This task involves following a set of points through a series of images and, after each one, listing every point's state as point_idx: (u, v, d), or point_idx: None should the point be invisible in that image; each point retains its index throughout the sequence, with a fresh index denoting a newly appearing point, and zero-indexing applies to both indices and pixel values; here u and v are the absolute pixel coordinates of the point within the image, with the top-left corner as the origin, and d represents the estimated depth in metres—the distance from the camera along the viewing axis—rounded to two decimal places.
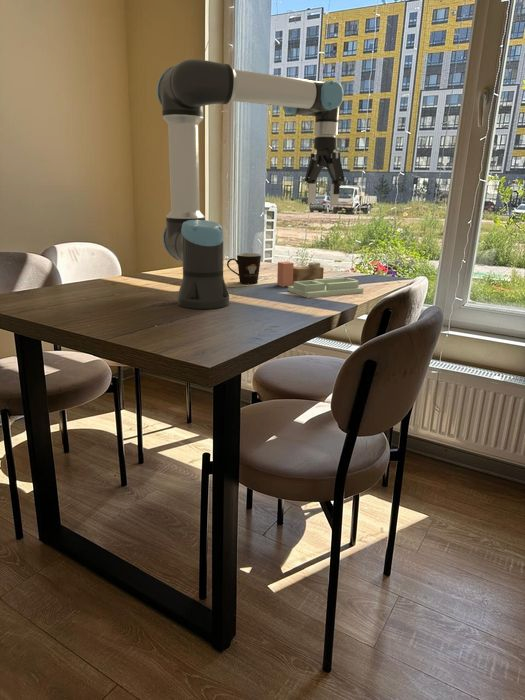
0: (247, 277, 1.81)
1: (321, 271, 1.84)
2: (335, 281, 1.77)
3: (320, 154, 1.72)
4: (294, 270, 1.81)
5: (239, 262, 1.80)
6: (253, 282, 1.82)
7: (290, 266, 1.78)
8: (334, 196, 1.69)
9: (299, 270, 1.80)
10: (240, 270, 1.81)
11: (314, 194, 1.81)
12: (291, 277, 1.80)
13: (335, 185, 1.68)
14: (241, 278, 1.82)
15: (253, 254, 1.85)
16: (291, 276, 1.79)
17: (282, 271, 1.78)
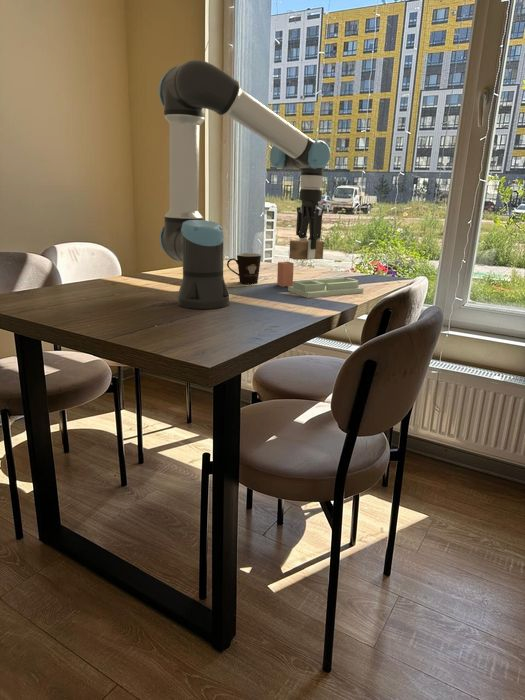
0: (247, 277, 1.81)
1: (321, 245, 1.81)
2: (335, 281, 1.77)
3: (305, 202, 1.78)
4: (293, 243, 1.79)
5: (239, 262, 1.80)
6: (253, 282, 1.82)
7: (290, 266, 1.78)
8: (311, 251, 1.79)
9: (297, 243, 1.77)
10: (240, 270, 1.81)
11: None
12: (291, 277, 1.80)
13: (312, 241, 1.77)
14: (241, 278, 1.82)
15: (253, 254, 1.85)
16: (291, 276, 1.79)
17: (282, 271, 1.78)
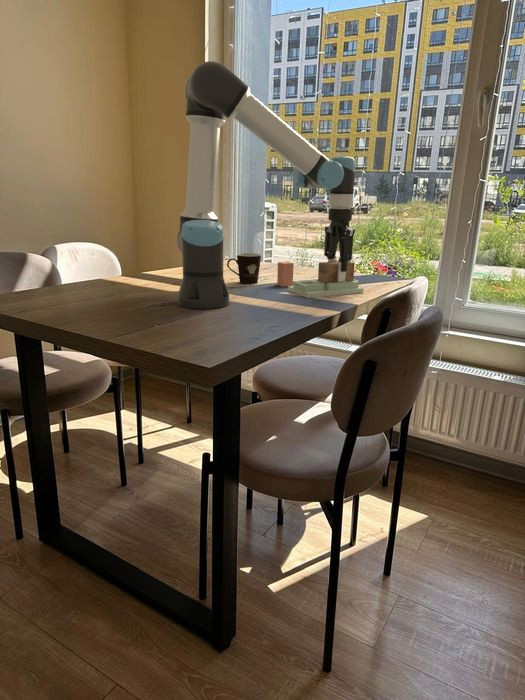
0: (247, 277, 1.81)
1: (352, 267, 1.71)
2: None
3: (334, 222, 1.68)
4: (322, 265, 1.69)
5: (239, 262, 1.80)
6: (253, 282, 1.82)
7: (290, 266, 1.78)
8: (341, 273, 1.69)
9: (327, 265, 1.67)
10: (240, 270, 1.81)
11: None
12: (291, 277, 1.80)
13: (342, 263, 1.67)
14: (241, 278, 1.82)
15: (253, 254, 1.85)
16: (291, 276, 1.79)
17: (282, 271, 1.78)
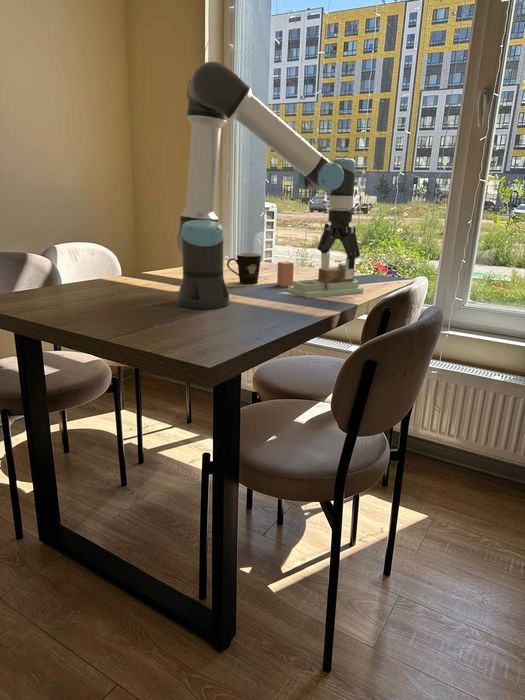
0: (247, 277, 1.81)
1: None
2: None
3: (334, 226, 1.68)
4: (322, 271, 1.69)
5: (239, 262, 1.80)
6: (253, 282, 1.82)
7: (290, 266, 1.78)
8: (349, 270, 1.65)
9: (328, 271, 1.68)
10: (240, 270, 1.81)
11: (327, 263, 1.77)
12: (291, 277, 1.80)
13: (350, 260, 1.64)
14: (241, 278, 1.82)
15: (253, 254, 1.85)
16: (291, 276, 1.79)
17: (282, 271, 1.78)
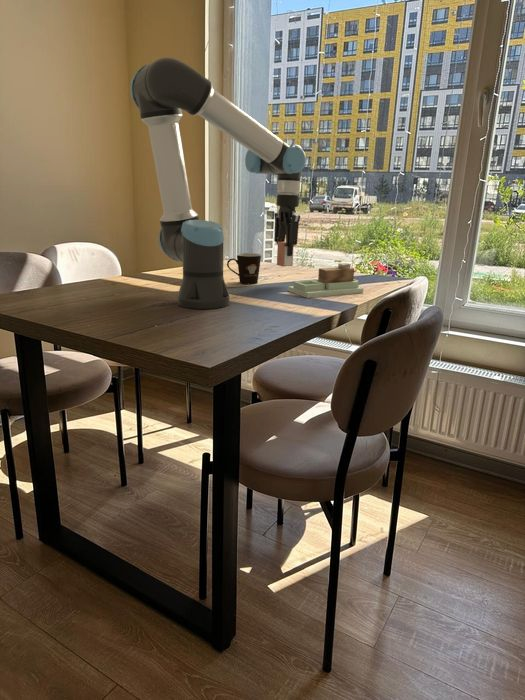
0: (247, 277, 1.81)
1: (351, 273, 1.72)
2: None
3: (282, 207, 1.74)
4: (322, 271, 1.69)
5: (239, 262, 1.80)
6: (253, 282, 1.82)
7: None
8: (287, 257, 1.76)
9: (328, 271, 1.68)
10: (240, 270, 1.81)
11: None
12: None
13: (288, 247, 1.74)
14: (241, 278, 1.82)
15: (253, 254, 1.85)
16: None
17: (282, 250, 1.75)
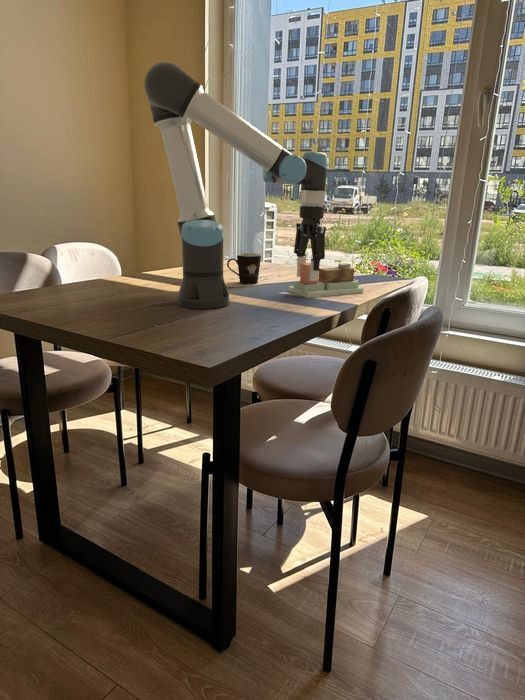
0: (247, 277, 1.81)
1: (351, 273, 1.72)
2: None
3: (305, 220, 1.62)
4: (322, 271, 1.69)
5: (239, 262, 1.80)
6: (253, 282, 1.82)
7: None
8: (314, 272, 1.63)
9: (328, 271, 1.68)
10: (240, 270, 1.81)
11: None
12: None
13: (315, 262, 1.61)
14: (241, 278, 1.82)
15: (253, 254, 1.85)
16: None
17: (306, 273, 1.65)
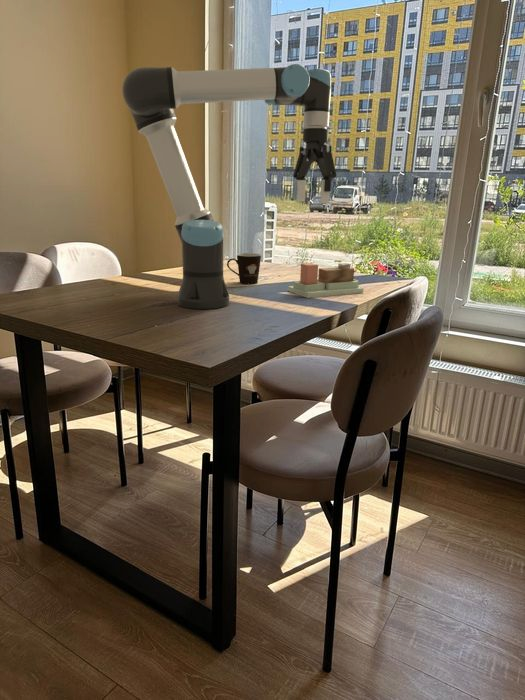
0: (247, 277, 1.81)
1: (351, 273, 1.72)
2: None
3: (310, 147, 1.56)
4: (322, 271, 1.69)
5: (239, 262, 1.80)
6: (253, 282, 1.82)
7: (315, 268, 1.65)
8: (325, 194, 1.53)
9: (328, 271, 1.68)
10: (240, 270, 1.81)
11: (303, 192, 1.65)
12: (315, 280, 1.67)
13: (326, 181, 1.51)
14: (241, 278, 1.82)
15: (253, 254, 1.85)
16: (315, 279, 1.67)
17: (306, 274, 1.65)
